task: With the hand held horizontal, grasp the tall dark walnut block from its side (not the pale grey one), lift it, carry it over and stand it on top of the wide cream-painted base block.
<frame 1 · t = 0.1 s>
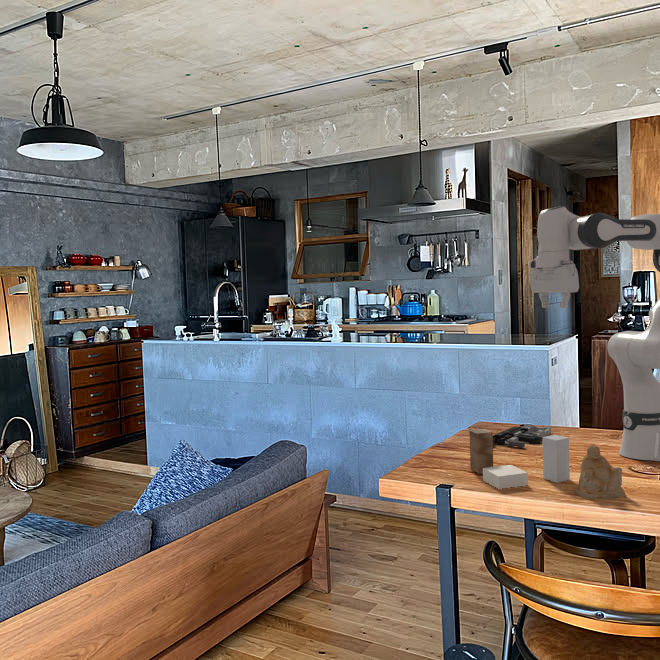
hand: (554, 307, 200), 48 cm above the table, tool pointing down, fingers open, 8 cm apart
toy gun: (518, 443, 235), on the table
walnut block: (481, 470, 201), on the table
grey block: (556, 479, 189), on the table
statue: (599, 494, 175), on the table
cream base: (505, 484, 187), on the table
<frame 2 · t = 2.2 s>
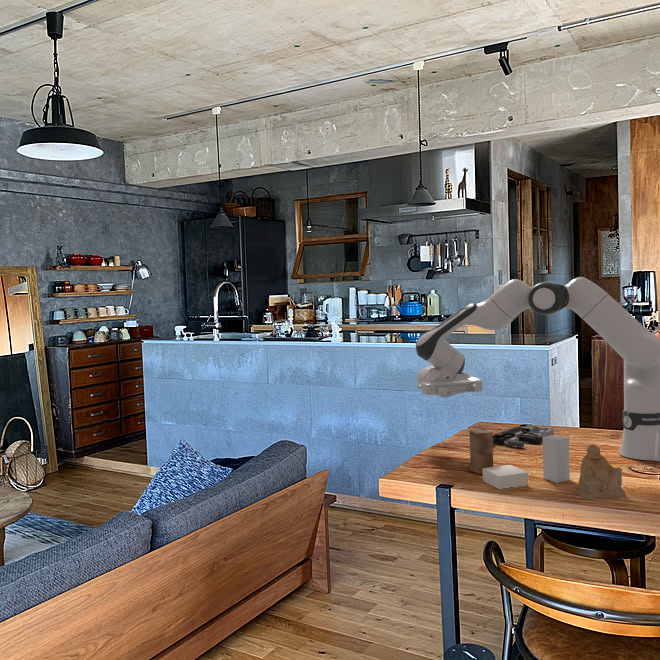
hand: (462, 390, 211), 23 cm above the table, tool horizontal, fingers open, 8 cm apart
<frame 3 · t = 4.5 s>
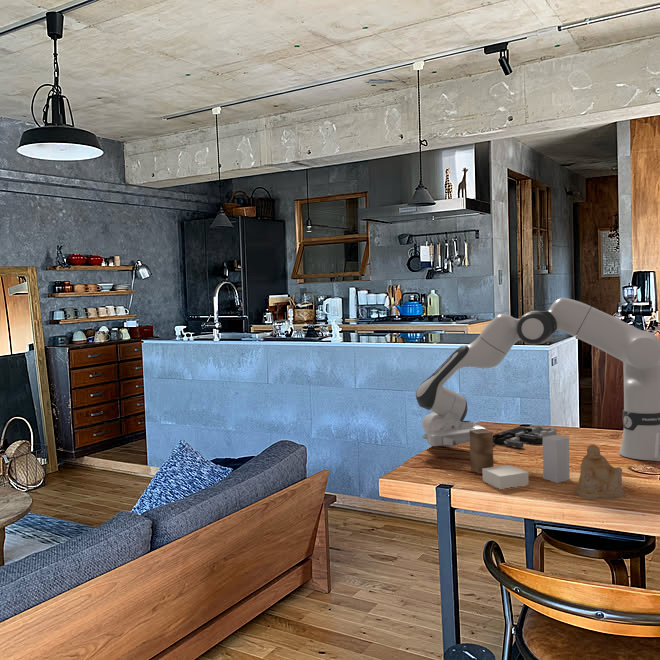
hand: (467, 441, 210), 7 cm above the table, tool horizontal, fingers open, 8 cm apart
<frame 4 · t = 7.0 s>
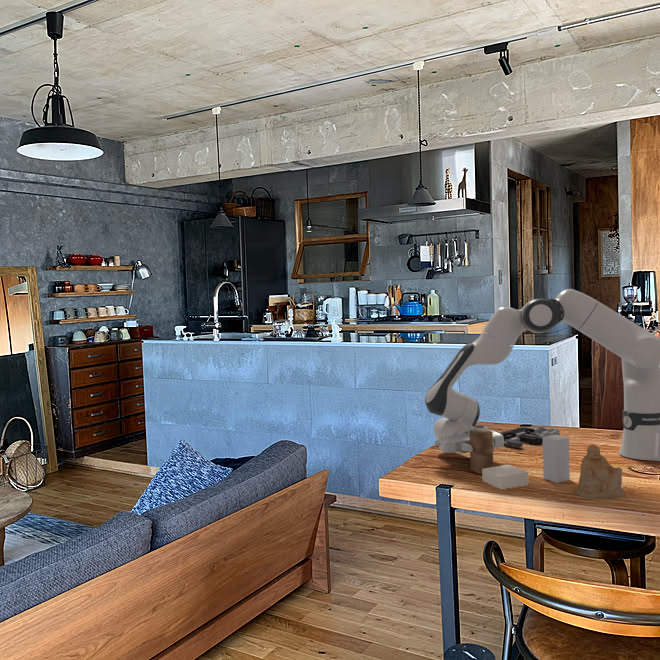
hand: (482, 448, 199), 7 cm above the table, tool horizontal, fingers closed on walnut block, 5 cm apart
walnut block: (481, 470, 201), on the table, touching gripper
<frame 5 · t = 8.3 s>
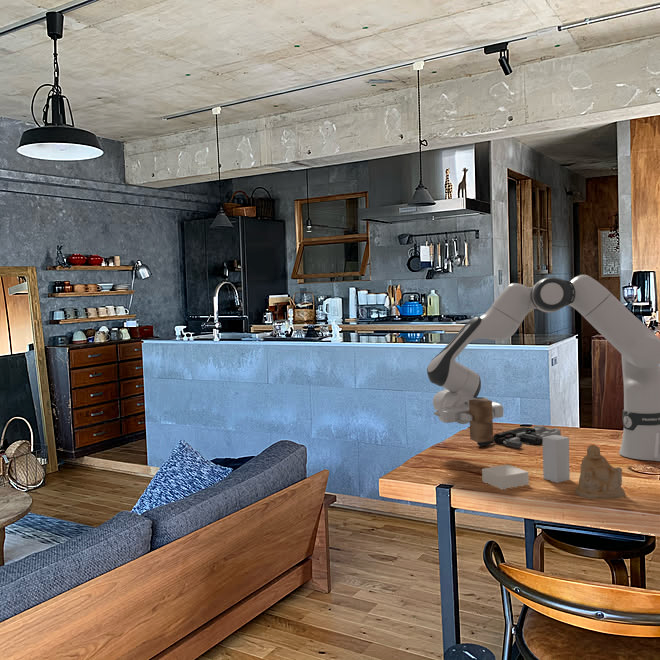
hand: (482, 417, 199), 16 cm above the table, tool horizontal, fingers closed on walnut block, 5 cm apart
walnut block: (481, 439, 200), point 9 cm above the table, touching gripper
when the fingers open (12 cm above the table, at t = 11.3 s): walnut block drops 1 cm, resting on cream base.
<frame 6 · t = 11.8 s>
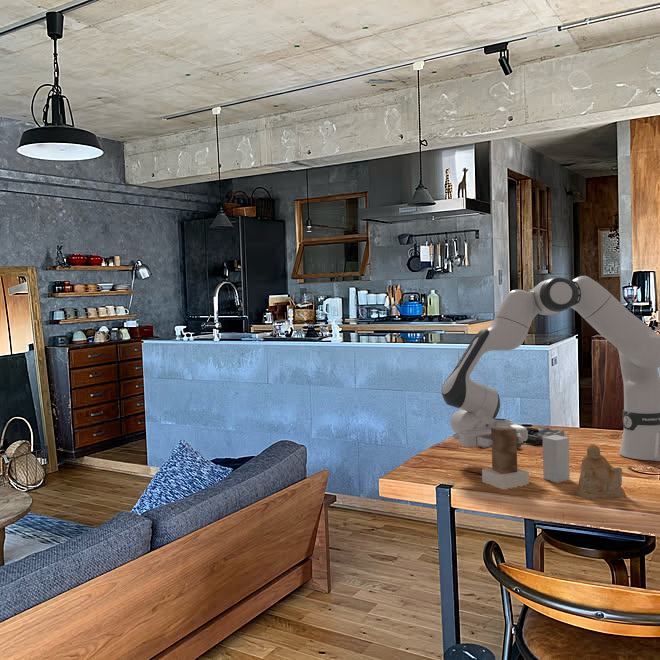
hand: (505, 441, 186), 12 cm above the table, tool horizontal, fingers open, 8 cm apart
walnut block: (504, 470, 187), point 4 cm above the table, touching cream base
cream base: (505, 484, 187), on the table, touching walnut block
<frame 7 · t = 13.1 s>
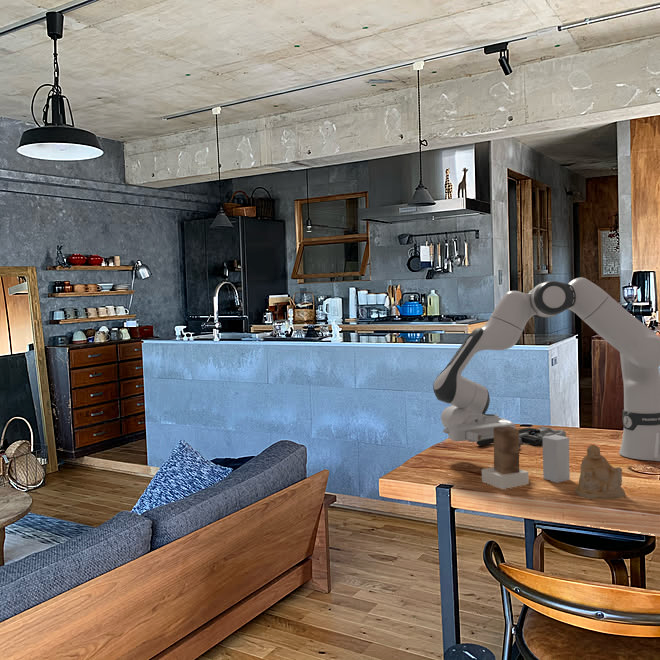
hand: (493, 436, 192), 12 cm above the table, tool horizontal, fingers open, 8 cm apart
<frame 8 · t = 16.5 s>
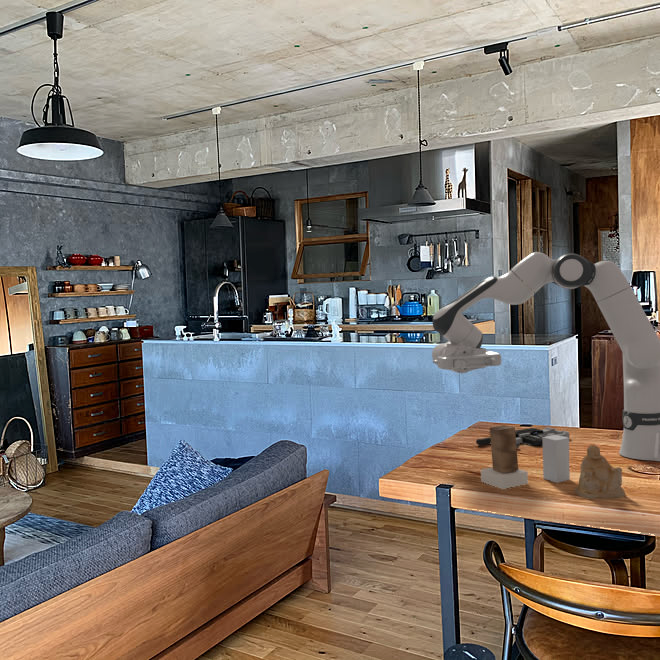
hand: (480, 363, 202), 32 cm above the table, tool horizontal, fingers open, 8 cm apart
walnut block: (505, 470, 187), point 4 cm above the table
cream base: (504, 484, 187), on the table
at the end: walnut block 0.6 cm off-centre on the cream base, point 4.2 cm above the cream base's base; walnut block tilted 4°; the gripper is holding nothing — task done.
